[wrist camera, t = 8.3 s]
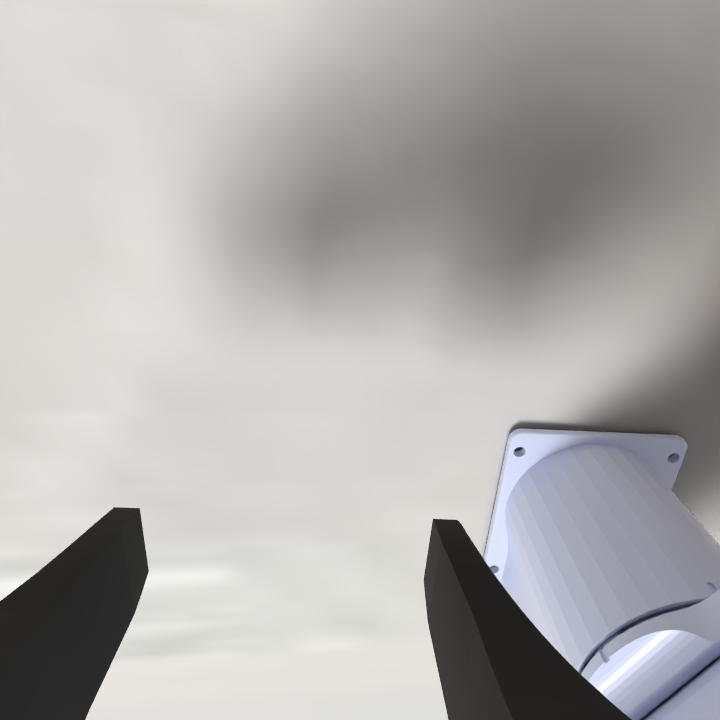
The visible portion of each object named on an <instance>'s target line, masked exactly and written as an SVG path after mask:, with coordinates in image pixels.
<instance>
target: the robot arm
mask: <svg viewBox="0 0 720 720" xmlns="http://www.w3.org/2000/svg"><path fill="white" fill-rule="evenodd" d="M517 447H523V448H522V450H520V451H519V452H514V450H515V449H516V448H517ZM687 448H688V444H687V442H686V441H685V440H684V439H683V438H682V437H681V436H678V435H663V434H640V433H616V432H592V431H568V430H544V429H516V430H514V431H512V432H511V433H510V435H509V437H508V441H507V446H506V451H505V456H504V461H503V466H502V471H501V475H500V480H499V485H498V490H497V495H496V500H495V505H494V510H493V515H492V520H491V524H490V529H489V534H488V539H487V544H486V549H485V554H484V559H483V557H482V556H481V554H480V553H479V551H478V550H477V548H476V547H475V545H474V544H473V542H472V541H471V539H470V538H469V536H468V534H467V533H466V531H465V530H464V528H463V526H462V525H461V523H460V522H459V521H458V520H444V519H433V523H432V529H431V536H430V543H429V549H428V556H427V562H426V569H425V575H424V587H425V598H426V608H427V617H428V624H429V629H430V634H431V639H432V643H433V648H434V653H435V658H436V662H437V667H438V672H439V676H440V681H441V686H442V690H443V695H444V700H445V704H446V709H447V714H448V719H449V720H720V545H719V544H718V543H717V541H716V540H715V539H714V538H713V537H712V536H711V535H710V534H709V532H708V531H707V530H706V529H705V528H704V527H703V526H702V524H701V523H700V522H699V521H698V520H697V519H696V518H695V516H694V515H693V514H692V513H691V512H690V511H689V510H688V508H687V507H686V506H685V505H684V504H683V503H682V502H681V501H680V499H679V498H678V497H677V496H676V495H675V494H674V493H673V491H672V488H673V486H674V483H675V480H676V478H677V475H678V472H679V470H680V467H681V464H682V462H683V459H684V456H685V454H686V451H687ZM671 454H674V455H673V456H672V457H670V458H668V457H669V456H670V455H671ZM491 566H494V567H491ZM148 571H149V570H148V563H147V557H146V550H145V543H144V536H143V529H142V522H141V515H140V508H116V507H114V508H113V509H112V510H111V511H109V512H108V513H107V514H106V515H105V516H103V517H102V518H101V519H100V520H99V521H98V522H96V523H95V524H94V525H93V526H92V527H91V528H89V529H88V530H87V531H86V532H85V533H84V534H83V535H81V536H80V537H79V538H78V539H77V540H76V541H74V542H73V543H72V544H71V545H70V546H69V547H67V548H66V549H65V550H64V551H63V552H62V553H60V554H59V555H58V556H57V557H56V558H54V559H53V560H52V561H51V562H50V563H48V564H47V565H46V566H45V567H44V568H42V569H41V570H40V571H39V572H37V573H36V574H35V575H34V576H32V577H31V578H30V579H29V580H27V581H26V582H25V583H23V584H22V585H21V586H19V587H18V588H17V589H16V590H14V591H13V592H12V593H10V594H9V595H8V596H7V597H5V598H4V599H3V600H1V601H0V720H85V719H86V716H87V714H88V712H89V709H90V707H91V705H92V703H93V701H94V699H95V697H96V694H97V692H98V690H99V688H100V686H101V684H102V682H103V680H104V678H105V675H106V673H107V671H108V669H109V667H110V665H111V663H112V661H113V659H114V656H115V654H116V652H117V650H118V648H119V646H120V644H121V642H122V639H123V637H124V635H125V633H126V631H127V629H128V627H129V624H130V622H131V620H132V618H133V616H134V613H135V611H136V608H137V605H138V602H139V599H140V596H141V593H142V590H143V587H144V584H145V581H146V578H147V575H148Z"/></svg>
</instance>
